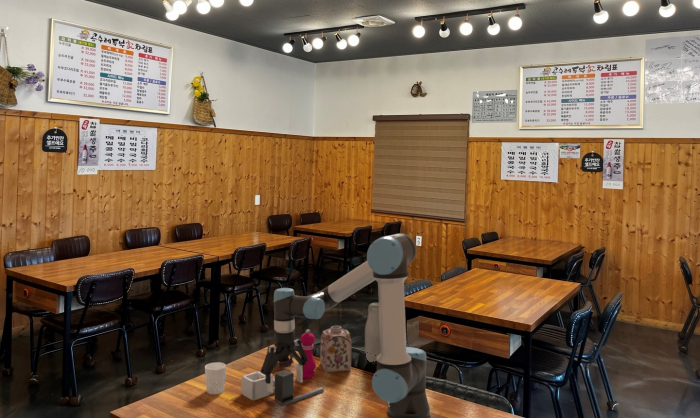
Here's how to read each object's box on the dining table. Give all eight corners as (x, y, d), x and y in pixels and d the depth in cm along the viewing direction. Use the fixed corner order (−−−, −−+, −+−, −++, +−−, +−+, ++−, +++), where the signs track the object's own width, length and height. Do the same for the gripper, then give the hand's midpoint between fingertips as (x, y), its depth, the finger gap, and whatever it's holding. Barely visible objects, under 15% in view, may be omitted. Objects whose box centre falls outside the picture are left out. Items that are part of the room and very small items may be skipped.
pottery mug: (298, 365, 233) (297, 353, 228) (286, 380, 226) (285, 368, 221) (275, 354, 237) (275, 342, 232) (263, 369, 230) (262, 357, 225)
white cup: (200, 392, 201) (200, 367, 200) (214, 385, 208) (214, 360, 207) (216, 397, 197) (216, 371, 197) (230, 389, 204) (230, 364, 204)
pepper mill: (313, 380, 215) (313, 332, 213) (296, 378, 216) (296, 331, 215) (317, 373, 222) (318, 327, 220) (301, 372, 223) (301, 326, 222)
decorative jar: (351, 371, 226) (352, 330, 224) (324, 373, 223) (325, 331, 222) (345, 361, 237) (345, 322, 236) (320, 363, 234) (320, 323, 233)
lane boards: (293, 386, 208) (293, 382, 208) (269, 395, 200) (269, 389, 200) (281, 380, 213) (281, 376, 213) (257, 388, 206) (257, 383, 205)
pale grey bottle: (381, 359, 240) (382, 299, 238) (389, 367, 230) (391, 305, 228) (361, 362, 236) (362, 301, 235) (368, 370, 227) (370, 306, 225)
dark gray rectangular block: (293, 399, 196) (293, 373, 195) (282, 403, 192) (282, 376, 192) (269, 386, 207) (269, 362, 206) (258, 390, 203) (258, 365, 203)
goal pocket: (270, 394, 200) (270, 377, 199) (253, 400, 195) (253, 382, 194) (258, 388, 206) (258, 371, 205) (241, 393, 200) (241, 376, 200)
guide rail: (323, 391, 204) (323, 388, 204) (282, 406, 190) (282, 403, 190) (321, 390, 205) (321, 387, 205) (280, 405, 191) (280, 402, 191)
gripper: (304, 321, 205) (305, 374, 206) (250, 335, 188) (251, 392, 189) (316, 325, 200) (317, 379, 201) (262, 339, 183) (263, 399, 184)
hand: (285, 386), depth 195 cm, fingers open, 13 cm apart
